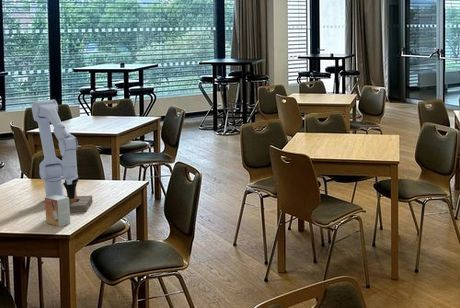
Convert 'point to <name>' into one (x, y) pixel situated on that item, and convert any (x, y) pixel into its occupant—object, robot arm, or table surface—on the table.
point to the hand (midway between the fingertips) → (72, 197)
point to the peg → (74, 197)
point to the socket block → (80, 204)
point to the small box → (57, 210)
